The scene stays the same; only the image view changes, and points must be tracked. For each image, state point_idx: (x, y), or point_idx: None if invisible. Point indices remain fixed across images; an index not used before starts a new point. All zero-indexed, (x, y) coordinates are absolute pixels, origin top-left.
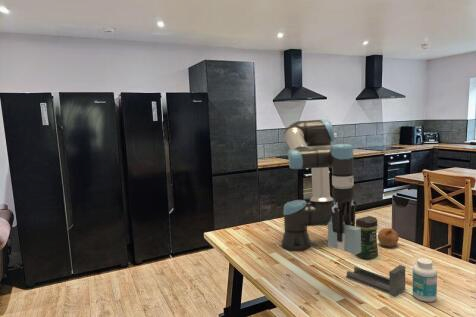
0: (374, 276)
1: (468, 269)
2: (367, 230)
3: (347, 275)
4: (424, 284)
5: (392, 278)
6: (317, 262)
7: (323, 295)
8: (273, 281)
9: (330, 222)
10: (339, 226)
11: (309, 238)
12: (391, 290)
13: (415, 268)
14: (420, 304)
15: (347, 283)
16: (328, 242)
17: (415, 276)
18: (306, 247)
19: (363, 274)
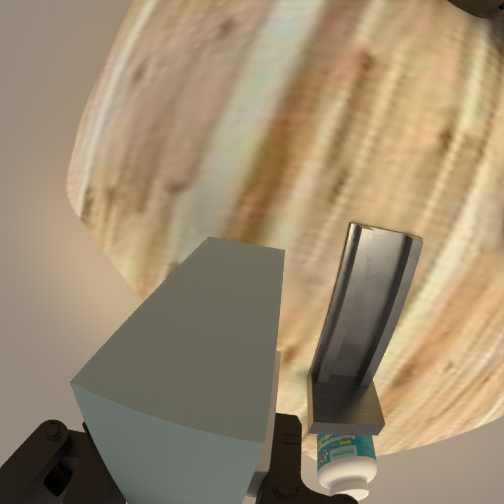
0: (385, 318)
1: (486, 421)
2: None
3: (358, 228)
4: (317, 457)
5: (310, 413)
6: (404, 68)
7: (175, 213)
8: (153, 29)
9: (139, 424)
10: (56, 499)
11: (501, 3)
12: (309, 382)
13: (333, 472)
14: (301, 419)
15: (309, 245)
16: (200, 249)
17: (325, 457)
18: (462, 3)
19: (396, 274)
